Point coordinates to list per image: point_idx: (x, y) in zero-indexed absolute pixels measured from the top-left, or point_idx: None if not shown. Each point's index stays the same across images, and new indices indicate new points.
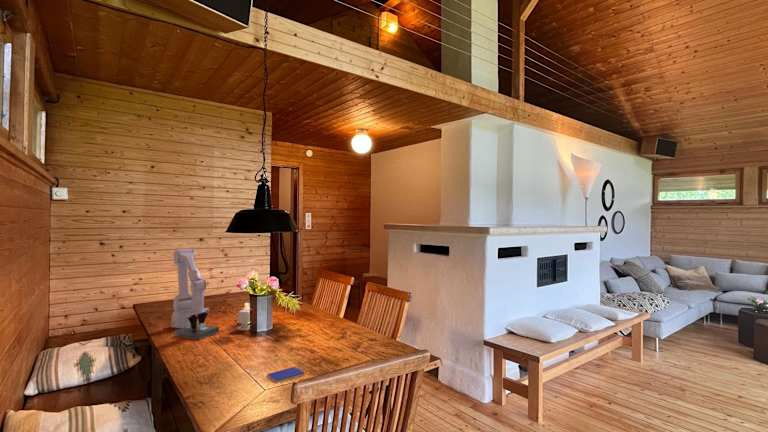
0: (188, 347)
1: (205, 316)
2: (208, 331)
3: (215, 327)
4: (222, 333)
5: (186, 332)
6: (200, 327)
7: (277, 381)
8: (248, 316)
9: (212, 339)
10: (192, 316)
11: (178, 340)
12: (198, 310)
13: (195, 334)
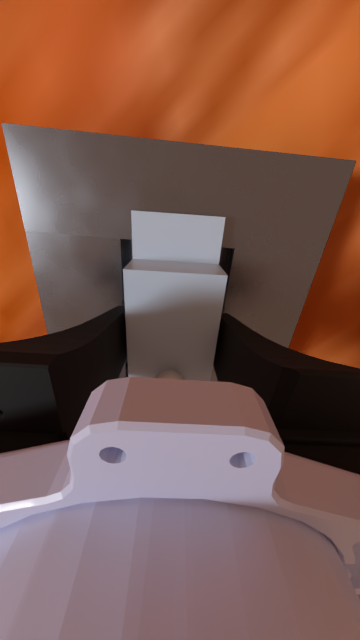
0: None
1: (51, 343)
2: (202, 147)
3: (50, 155)
4: (49, 57)
5: (291, 334)
6: (212, 268)
7: None
8: None
9: (290, 3)
10: (354, 452)
11: (331, 324)
12: (351, 631)
13: (325, 226)
